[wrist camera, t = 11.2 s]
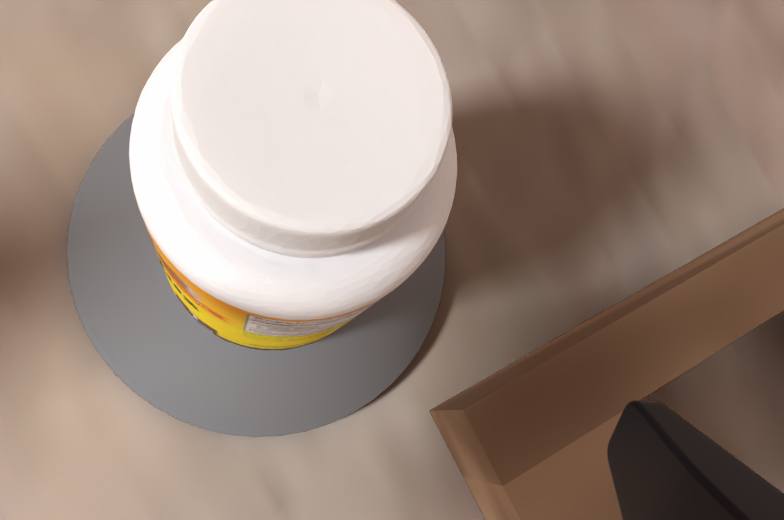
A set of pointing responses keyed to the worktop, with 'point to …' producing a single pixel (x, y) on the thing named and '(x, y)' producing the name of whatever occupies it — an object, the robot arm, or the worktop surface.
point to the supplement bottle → (293, 163)
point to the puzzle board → (604, 382)
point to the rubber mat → (207, 351)
